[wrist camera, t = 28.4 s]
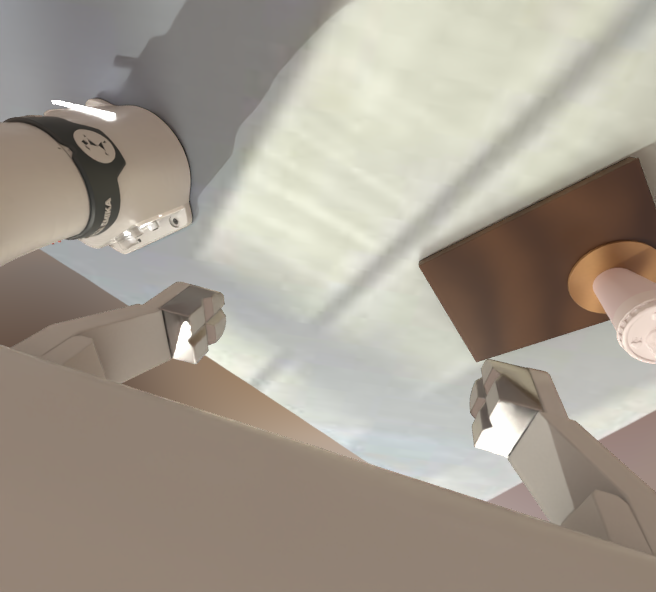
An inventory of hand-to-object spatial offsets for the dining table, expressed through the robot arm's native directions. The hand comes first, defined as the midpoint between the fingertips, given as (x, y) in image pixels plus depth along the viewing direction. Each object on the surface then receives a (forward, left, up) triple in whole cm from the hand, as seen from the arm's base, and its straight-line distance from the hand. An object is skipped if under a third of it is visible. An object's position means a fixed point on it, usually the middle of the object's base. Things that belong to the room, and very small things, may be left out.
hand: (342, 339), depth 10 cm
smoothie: (+13, -21, -30) cm, 39 cm away
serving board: (+8, -18, -32) cm, 38 cm away
